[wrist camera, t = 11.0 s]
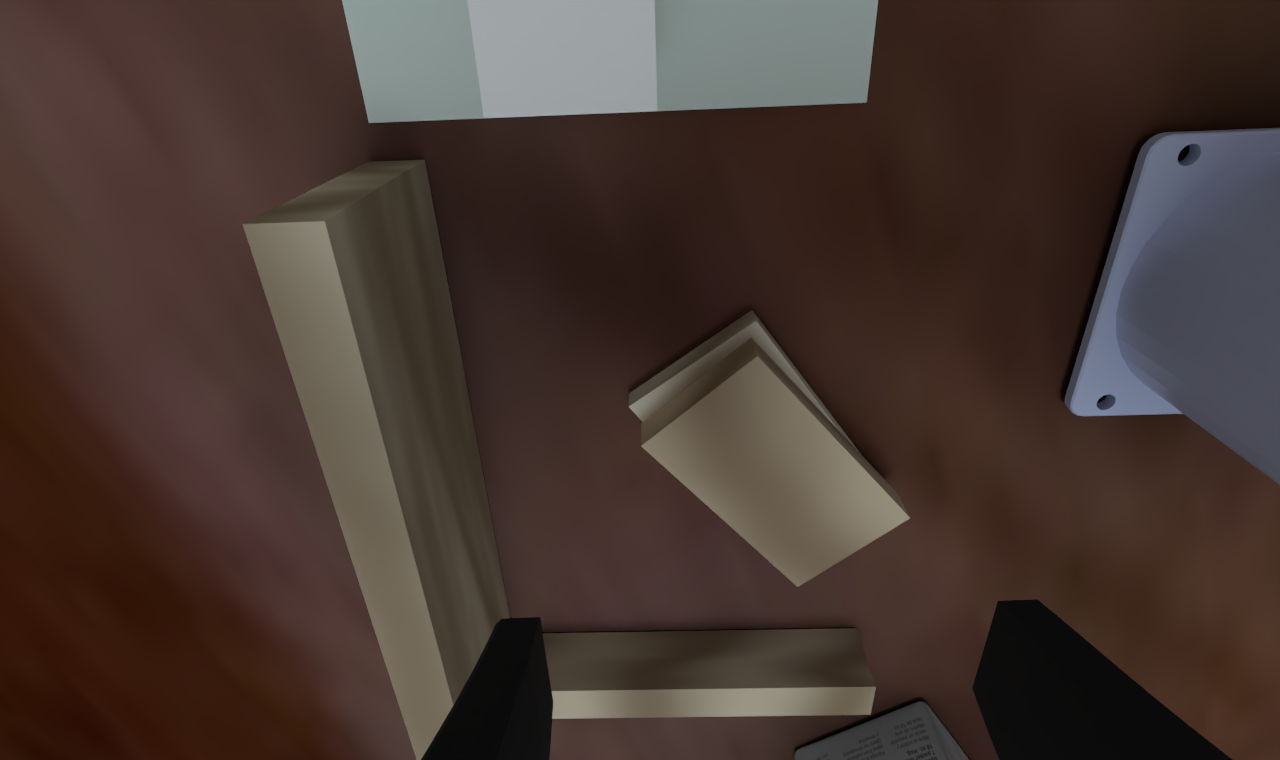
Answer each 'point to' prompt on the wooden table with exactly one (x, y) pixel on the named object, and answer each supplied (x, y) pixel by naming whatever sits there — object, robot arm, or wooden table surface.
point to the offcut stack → (764, 452)
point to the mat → (685, 55)
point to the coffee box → (889, 739)
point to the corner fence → (469, 482)
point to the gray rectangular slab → (564, 56)
